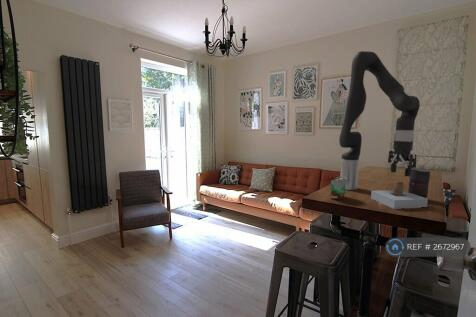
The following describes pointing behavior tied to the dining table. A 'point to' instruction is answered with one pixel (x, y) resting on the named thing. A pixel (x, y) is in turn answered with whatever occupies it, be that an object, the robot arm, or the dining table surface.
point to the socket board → (399, 199)
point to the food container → (338, 188)
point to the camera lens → (419, 182)
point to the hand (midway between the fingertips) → (400, 174)
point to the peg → (398, 188)
